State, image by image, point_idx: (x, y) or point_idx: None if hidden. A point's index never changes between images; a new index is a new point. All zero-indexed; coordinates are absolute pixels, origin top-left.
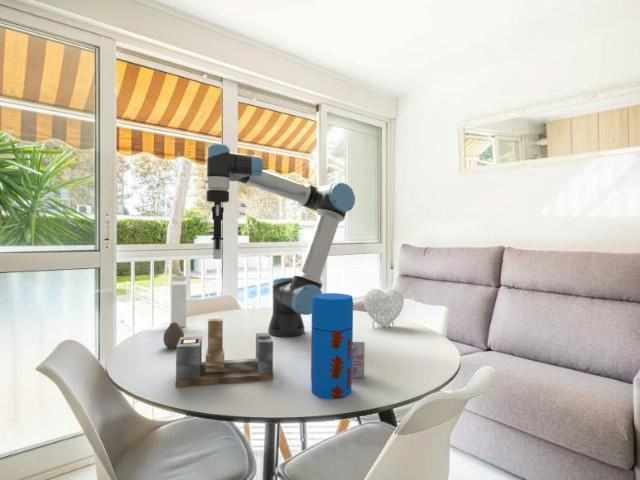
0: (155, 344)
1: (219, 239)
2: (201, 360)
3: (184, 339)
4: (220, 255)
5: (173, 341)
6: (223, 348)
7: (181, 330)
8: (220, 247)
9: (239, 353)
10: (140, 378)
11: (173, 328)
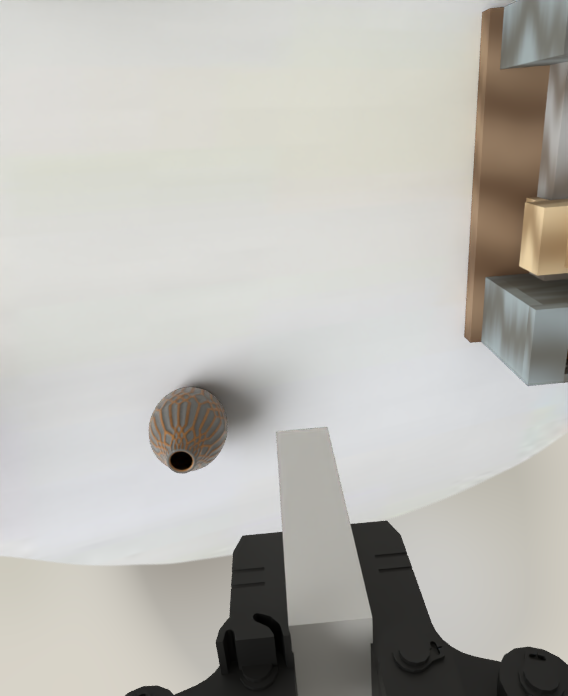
0: (151, 474)
1: (450, 648)
2: (498, 282)
3: (564, 365)
4: (331, 459)
5: (226, 419)
6: (564, 209)
7: (189, 416)
8: (350, 531)
9: (301, 146)
10: (490, 428)
11: (206, 448)
